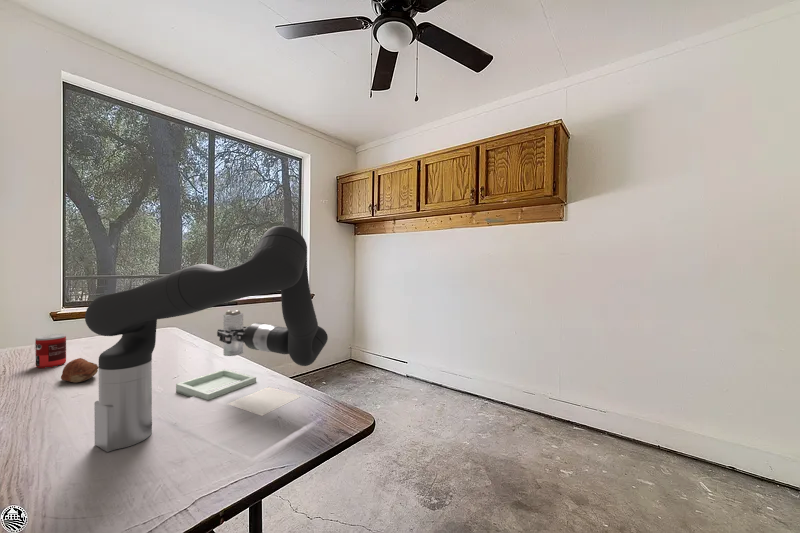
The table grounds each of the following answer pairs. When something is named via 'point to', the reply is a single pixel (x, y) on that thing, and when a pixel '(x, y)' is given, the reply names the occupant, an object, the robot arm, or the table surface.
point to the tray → (214, 384)
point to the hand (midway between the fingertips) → (228, 330)
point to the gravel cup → (231, 322)
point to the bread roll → (79, 370)
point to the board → (264, 401)
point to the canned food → (50, 350)
